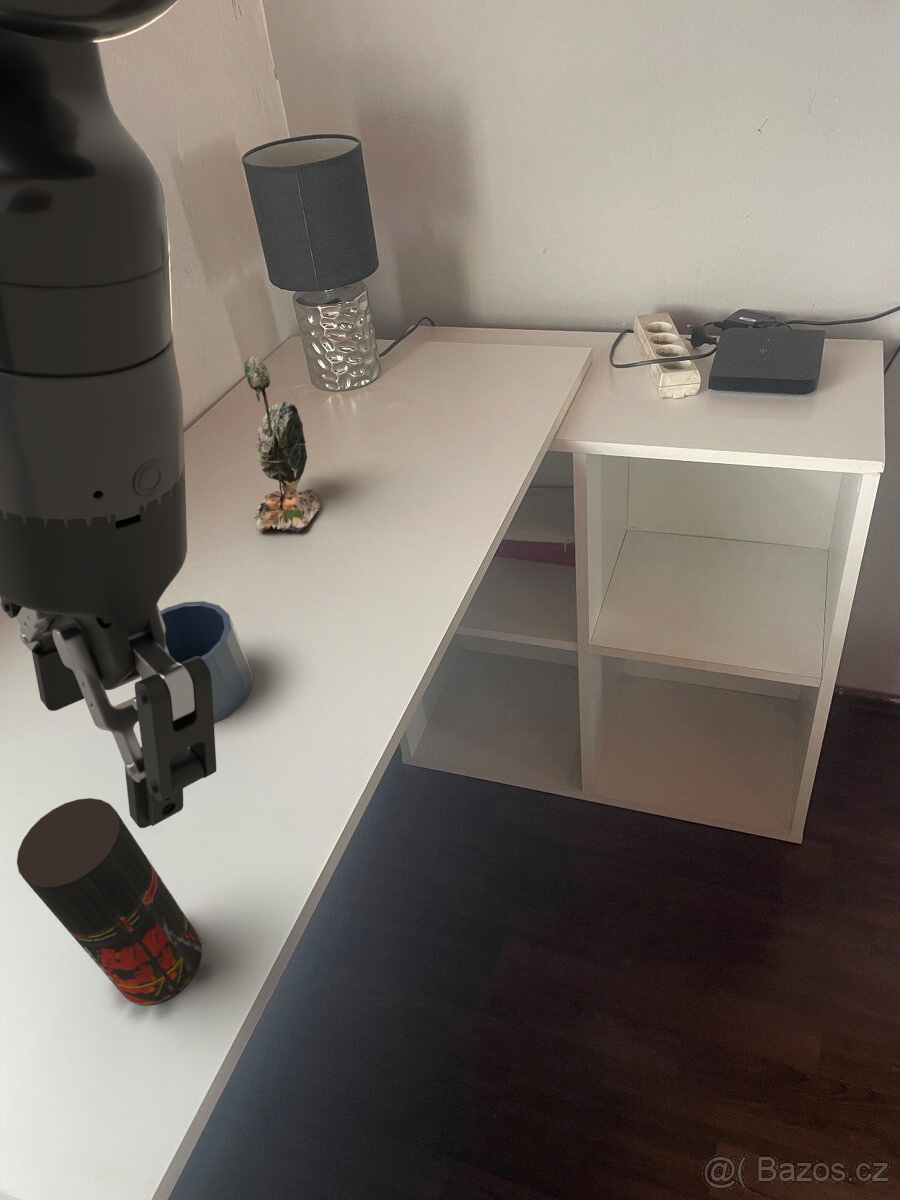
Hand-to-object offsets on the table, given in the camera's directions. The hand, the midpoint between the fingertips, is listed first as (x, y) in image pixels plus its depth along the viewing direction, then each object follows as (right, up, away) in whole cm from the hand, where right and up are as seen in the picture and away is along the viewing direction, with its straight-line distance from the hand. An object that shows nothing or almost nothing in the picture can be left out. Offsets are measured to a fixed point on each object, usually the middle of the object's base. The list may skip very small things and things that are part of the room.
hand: (110, 754), depth 41 cm
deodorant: (-4, -18, +20) cm, 27 cm away
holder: (-7, -1, +39) cm, 40 cm away
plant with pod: (-2, +18, +60) cm, 63 cm away
